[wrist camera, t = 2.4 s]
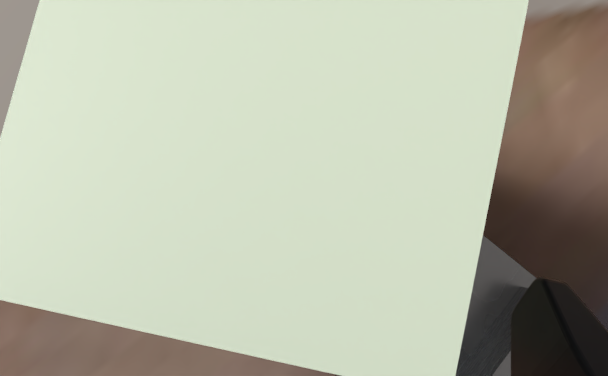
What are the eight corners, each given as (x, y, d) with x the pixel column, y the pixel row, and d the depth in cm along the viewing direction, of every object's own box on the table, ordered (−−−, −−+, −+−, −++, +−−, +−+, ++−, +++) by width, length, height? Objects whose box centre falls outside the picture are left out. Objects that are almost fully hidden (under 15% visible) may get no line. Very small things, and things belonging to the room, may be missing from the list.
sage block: (330, 292, 18) (450, 400, 6) (171, 256, 18) (-43, 289, 6) (365, 136, 18) (540, -62, 6) (210, 99, 18) (89, -174, 6)
